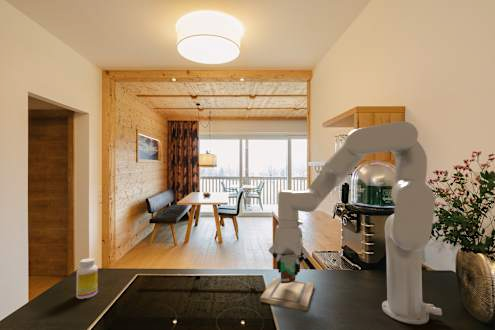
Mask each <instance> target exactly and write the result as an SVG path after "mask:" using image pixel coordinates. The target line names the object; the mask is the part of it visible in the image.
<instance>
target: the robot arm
mask: <svg viewBox="0 0 495 330" xmlns="http://www.w3.org/2000/svg"><path fill="white" fill-rule="evenodd" d="M418 137H419V131H418V129H417V127H416V126H415V125H414V124H412V123H411V122H409V121H405V120H403V121H402V120H401V121H399V120H398V121H392V122H387V123H382V124H377V125H371V126H363V127H359V128H356V129H352V130H351V131H350V132H349V133H348V135H347V136H346V138H345V140H344V141H343V142H342V143H341V145H340V146H339V147H338V148H337V149H336V150H335V152H334V153H333V154H331V156H330V157H329V159H328V160H326V161H325V163H324V165H322V167H321V168H322V169H321V170H320V172H319V174H318V175H317V176H316V177H315V179H314V180H313V181H312V182H311V183H310V184H309V186H308V187H307V188H306V189H305V190H303V191H297V190H294V189H293V190H292V189H283V190H280V191H279V192H278V197H277V200H278V201H277V202H278V203H277V213H278V214H277V225H276V227H275V232H274V243H273V244H272V246H270V248H269V249H268V252H269V253H270V255H272V257H273V258H274V259H275V261H276V268H277V271H278V273H280V274H281V256H282V254H286V255H293V254H295V255H296V256H297V258H298V257H299V258H298V259H297V260H296V264H295V275H296V276H298V274H299V273H300V272H301V263H302V262H303V261H304V260H305V259H307V258H308V257H309V256H310V253H309V252H308V251H307V249H306V248H305V247H304V243H303V241H304V240H303V231H302V227H300V226H303V224H304V223H303V221H301V220H300V218H299V217H300V216H299V212H303V213H311V212H315V211H316V210H317V209H318V208H319V206H320V205H321V204H322V202H323V201H324V200H325V199H326V198H327V197H328V196H329V194H330V193H331V192H332V191H333V190H335V188H336V187H337V186H338V185H340V184H341V183H343V181H344V180H345V179H346V178H347V177H348V176H349V175H350V174H351V173H352V172H353V170H354V169H355V168H356V167H357V166H358V165H359V164H360V163H361V162H362V161H363V160H364V158H366V156H367V155H370V154H379V153H386V152H390V153H392V155H393V157H394V161H395V168H394V177H393V183H392V189H391V193H390V194H391V195H390V196H391V200H392V202H393V203H394V205H395V206H394V212H393V213H392V214H391V215H389V216H388V217H387V219H386V220H385V223H384V238H385V251H386V288H387V289H386V297H387V298H386V299H387V300H384V301H383V302H382V304H381V309H382V311H383V312H384V313H385V314H386V315H387V316H389V317H390V318H392V319H394V320H396V321H398V322H402V323H405V324H410V325H423V324H426V323H428V321H429V320H430V316H429V315H430V314H433V315H437V316H442V315H443V311H442V308H440V307H436V306H435V305H434V304H432V303H425V301H424V300H423V282H422V281H423V278H422V277H423V275H422V252H421V251H422V250H423V249H424V248H425V247H426V246H427V245H428V243H429V241H430V238H431V234H432V230H433V223H434V222H433V221H434V215H435V208H436V198H435V194H434V191H433V190H432V188H431V187H430V186H429V185H428V184H426V182H427V171H428V170H427V169H428V158H427V157H428V156H427V153H426V150H425V149H424V147H423V145H421V143H420V142H419V140H418ZM302 253H303V255H302Z"/></svg>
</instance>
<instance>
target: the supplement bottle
mask: <svg viewBox="0 0 495 330" xmlns="http://www.w3.org/2000/svg"><path fill="white" fill-rule="evenodd" d="M95 262H96V258H94V257H89V258H84V259H80V260H79V266H80V267H78V268H77V270H76V284H75V285H76V287H75V288H76V289H75V290H76V293H75V295H76V298H77V299H79V300H84V299H85V298H86V299H89V298H92V297H94V296H95V295H97V294H98V284H99V283H98V280H99V273H98V272H99V267H98V266H97V265H96V264H95Z"/></svg>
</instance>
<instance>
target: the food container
mask: <svg viewBox="0 0 495 330" xmlns="http://www.w3.org/2000/svg"><path fill="white" fill-rule="evenodd" d="M298 258H299V257H298ZM298 258H297V256H296V255H295V254H293V255H286V254H282V256H281V272H280V278H281V283H291V282H293V281H296V276H297V275H295V264H296V260H297V259H298Z"/></svg>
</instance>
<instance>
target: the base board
mask: <svg viewBox="0 0 495 330" xmlns="http://www.w3.org/2000/svg"><path fill="white" fill-rule="evenodd" d="M313 289H315V283H314V282H306V281H300V280H295V281H293V282H291V283H281V277H274V278H272V280H271V282H270V283H269V285H268V286H267V287H266V288H265V290H264V291H263V293H262V295H261V296H259V297H260V298H259V299H260V302H261V303H264V304H265V303H266V304H269V305H270V304H271V305H275V306H281V307H285V308H291V309H296V310H300V309H301V310H302V311H305V310H307V309H308V310H309V305H310V303H311V300H310V299H312V296H313V293H314V290H313ZM308 310H307V311H308Z"/></svg>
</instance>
